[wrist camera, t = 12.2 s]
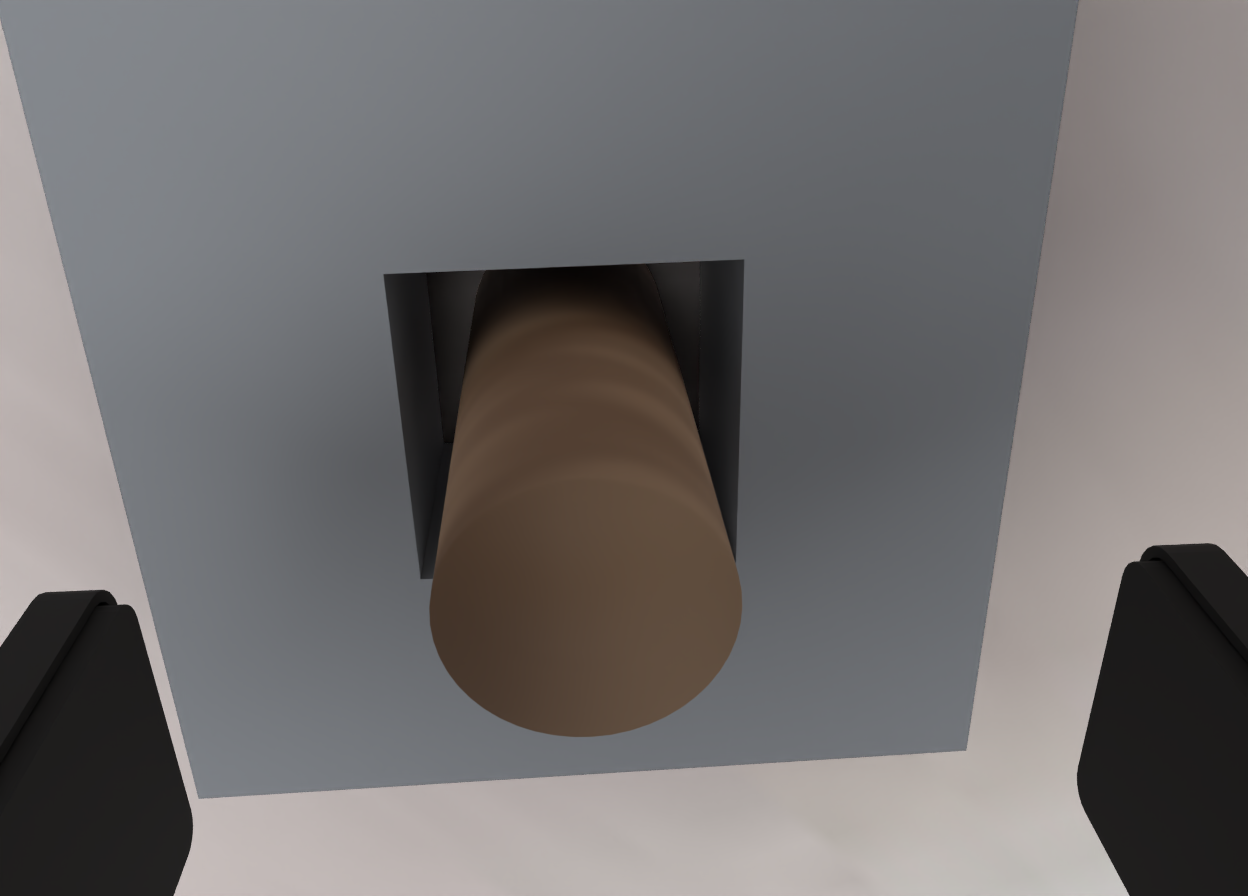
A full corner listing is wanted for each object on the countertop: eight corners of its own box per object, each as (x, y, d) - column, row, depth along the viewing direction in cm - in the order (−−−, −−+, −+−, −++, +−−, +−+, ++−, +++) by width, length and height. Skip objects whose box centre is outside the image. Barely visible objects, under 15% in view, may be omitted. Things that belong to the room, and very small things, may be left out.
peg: (659, 220, 21) (746, 469, 12) (661, 395, 23) (738, 728, 14) (466, 227, 21) (414, 486, 12) (482, 404, 23) (444, 745, 14)
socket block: (962, -93, 19) (1091, -84, 15) (891, 597, 25) (966, 750, 21) (116, -72, 18) (-19, -54, 14) (260, 632, 25) (199, 798, 20)
